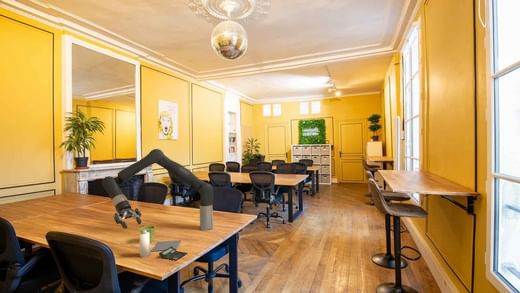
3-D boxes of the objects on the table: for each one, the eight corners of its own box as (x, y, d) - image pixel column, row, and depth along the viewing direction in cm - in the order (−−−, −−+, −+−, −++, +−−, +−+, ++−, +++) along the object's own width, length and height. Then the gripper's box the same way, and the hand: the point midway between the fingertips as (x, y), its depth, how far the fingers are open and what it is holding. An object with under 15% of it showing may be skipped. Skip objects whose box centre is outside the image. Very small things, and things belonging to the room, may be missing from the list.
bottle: (150, 252, 137) (150, 228, 137) (148, 256, 132) (147, 231, 132) (141, 253, 136) (141, 229, 136) (138, 257, 131) (137, 232, 131)
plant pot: (141, 245, 148) (141, 231, 148) (138, 241, 155) (138, 227, 155) (157, 242, 153) (157, 228, 153) (154, 237, 161) (153, 224, 161)
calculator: (176, 261, 126) (175, 255, 126) (158, 258, 130) (158, 252, 130) (187, 254, 135) (187, 248, 135) (171, 251, 139) (171, 246, 139)
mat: (180, 241, 154) (180, 240, 154) (176, 250, 140) (176, 249, 140) (158, 242, 152) (157, 241, 152) (150, 251, 138) (150, 250, 138)
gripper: (111, 202, 137) (123, 225, 132) (135, 197, 150) (147, 218, 144) (106, 210, 140) (118, 233, 134) (130, 205, 152) (141, 226, 147)
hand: (133, 225), depth 139 cm, fingers open, 8 cm apart
